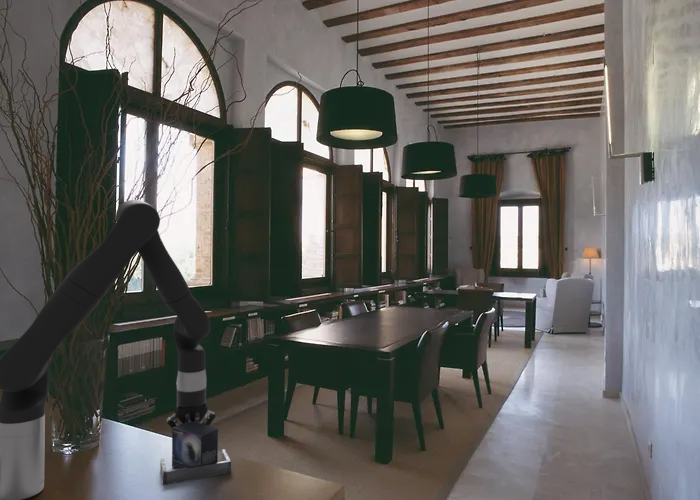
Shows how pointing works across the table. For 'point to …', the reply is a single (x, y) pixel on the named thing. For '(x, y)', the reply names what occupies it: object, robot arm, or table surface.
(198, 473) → the metal bracket
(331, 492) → the table surface
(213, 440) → the small box
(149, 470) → the table surface
